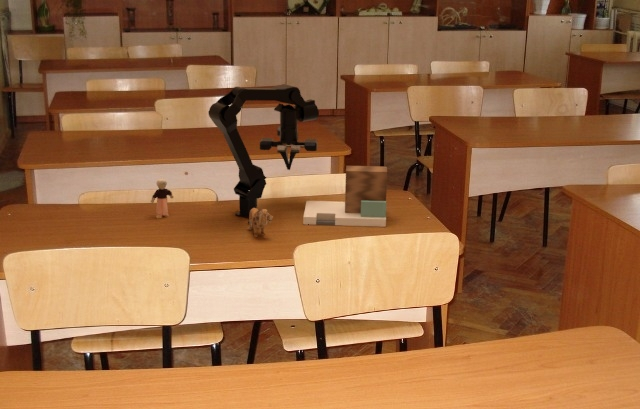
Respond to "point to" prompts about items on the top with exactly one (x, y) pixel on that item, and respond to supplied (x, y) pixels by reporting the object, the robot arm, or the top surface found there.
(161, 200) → the grandmother figurine
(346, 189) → the walnut block
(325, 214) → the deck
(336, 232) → the top surface
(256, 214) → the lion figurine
